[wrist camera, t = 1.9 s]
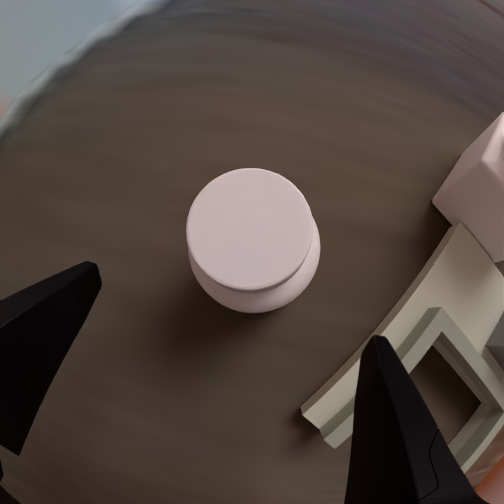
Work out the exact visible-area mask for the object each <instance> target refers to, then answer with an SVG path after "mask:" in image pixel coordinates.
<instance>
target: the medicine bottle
mask: <svg viewBox="0 0 504 504" xmlns="http://www.w3.org/2000/svg"><path fill="white" fill-rule="evenodd" d="M432 203H433V204H434V206H435V207H436V208H437V209H438V210H439V211H440V212H441V213H442V214H443V215H444V217H445V218H446V219H447V220H448V221H449V222H450V223H451V224H452V226H453V225H455V224H457V223H459V222H461V223H462V224H463V225H464V226H465V228H466V229H467V230H468V231H469V232H470V234H471V235H472V236H473V237H474V238H475V240H476V241H477V242H478V243H479V245H480V246H481V247H482V248H483V250H484V251H485V252H486V254H487V255H488V256H489V258H490V259H491V260H492V262H493V263H498V262H501V261H504V112H503V113H501V115H500V116H499V117H498V118H497V119H496V120H495V121H494V122H493V123H492V124H491V125H490V126H489V127H488V128H487V129H486V130H485V131H484V132H483V133H482V134H481V135H480V136H479V137H478V138H477V139H476V140H475V141H474V142H473V143H472V144H471V145H470V146H469V147H468V148H467V149H466V150H465V151H464V152H463V153H462V155H461V156H460V158H459V160H458V161H457V163H456V164H455V166H454V168H453V169H452V171H451V172H450V174H449V175H448V177H447V178H446V180H445V181H444V183H443V184H442V186H441V187H440V189H439V190H438V192H437V193H436V195H435V196H434V197H433V200H432Z"/></svg>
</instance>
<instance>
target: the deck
mask: <svg viewBox="0 0 504 504" xmlns="http://www.w3.org/2000/svg"><path fill="white" fill-rule="evenodd" d="M373 335H380V336H385V337H386V338H387V339H388V340H389V342H390V344H391V345H392V347H393V348H394V350H395V352H396V353H397V355H398V357H399V358H400V360H401V362H402V363H403V365H404V367H405V368H406V370H407V372H408V374H409V373H410V372H411V371H412V370H413V369H414V367H415V366H416V365H417V364H418V362H419V361H420V360H421V358H422V357H423V356H424V355H425V353H426V352H427V351H428V349H429V348H430V347H431V345H433V346H434V347H435V348H436V350H437V351H438V352H439V353H440V354H441V355H442V356H443V358H444V359H445V360H446V361H447V362H448V363H449V364H450V366H451V367H452V368H453V369H454V370H455V371H456V373H457V374H458V375H459V376H460V377H461V379H462V380H463V381H464V382H465V383H466V385H467V386H468V387H469V388H470V389H471V391H472V392H473V393H474V394H475V396H476V397H477V398H478V399H479V401H480V402H481V404H480V406H479V407H478V408H477V410H476V411H475V412H474V414H473V415H472V416H471V418H470V419H469V420H468V422H467V423H466V424H465V425H464V427H463V428H462V429H461V430H460V432H459V433H458V434H457V435H456V436H455V438H454V439H453V440H452V441H451V442H450V443H449V445H448V447H449V449H450V451H451V452H452V454H453V456H454V457H455V459H456V461H457V463H458V464H459V466H460V467H461V469H462V471H463V472H464V473H465V472H466V471H467V470H468V469H469V468H470V467H471V466H472V464H473V463H474V462H475V461H476V460H477V459H478V457H479V456H480V455H481V454H482V452H483V451H484V450H485V449H486V447H487V446H488V445H489V444H490V442H491V441H492V440H493V438H494V437H495V436H496V434H497V433H498V432H499V430H500V429H501V427H502V426H503V424H504V277H503V276H502V274H501V273H500V271H499V270H498V269H497V267H496V266H495V264H494V263H493V262H492V260H491V259H490V258H489V256H488V255H487V254H486V252H485V251H484V250H483V248H482V247H481V246H480V245H479V243H478V242H477V241H476V240H475V238H474V237H473V236H472V235H471V234H470V232H469V231H468V230H467V229H466V228H465V226H464V225H463V224H462V223H461V222H459V223H457V224H455V225H453V226H451V227H450V228H449V229H448V231H447V232H446V234H445V235H444V237H443V239H442V240H441V242H440V243H439V245H438V246H437V248H436V249H435V251H434V252H433V254H432V255H431V257H430V258H429V260H428V261H427V263H426V264H425V266H424V267H423V269H422V270H421V271H420V273H419V274H418V276H417V277H416V278H415V280H414V281H413V282H412V284H411V285H410V287H409V288H408V289H407V291H406V292H405V293H404V294H403V296H402V297H401V298H400V300H399V301H398V302H397V304H396V305H395V306H394V307H393V309H392V310H391V311H390V312H389V314H388V315H387V316H386V317H385V318H384V320H383V321H382V322H381V323H380V324H379V326H378V327H377V328H376V329H375V330H374V332H373V333H372V334H371V335H370V336H369V337H368V338H367V340H366V341H365V342H364V343H363V344H362V345H361V346H360V347H359V349H358V350H357V351H356V352H355V353H354V354H353V355H352V356H351V357H350V358H349V359H348V360H347V361H346V363H345V364H344V365H343V366H342V367H341V368H340V369H339V370H338V371H337V372H336V373H335V374H334V375H333V376H332V377H331V378H330V379H329V380H328V381H327V382H326V383H325V384H324V385H323V386H322V387H321V388H320V389H319V390H318V391H317V392H316V393H314V394H313V395H312V396H311V397H310V398H309V399H308V400H307V401H306V402H305V403H304V404H303V405H302V406H300V408H301V411H302V415H303V416H304V417H305V418H307V419H308V420H309V421H310V422H311V423H312V424H314V425H315V426H316V427H317V428H318V429H319V430H320V432H321V435H322V437H323V440H324V441H326V442H327V443H328V444H329V445H331V446H332V447H333V448H337V447H338V446H339V445H340V444H341V443H342V442H343V441H345V440H346V439H347V438H348V437H349V436H350V435H351V434H352V432H353V417H354V401H355V394H356V387H357V381H358V373H359V366H360V358H361V354H362V351H363V349H364V348H365V346H366V345H367V343H368V341H369V340H370V338H371V337H372V336H373Z"/></svg>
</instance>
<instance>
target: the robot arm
mask: <svg viewBox="0 0 504 504" xmlns="http://www.w3.org/2000/svg"><path fill="white" fill-rule="evenodd" d="M101 286H102V281H101V277H100V273H99V269H98V266H97V265H96V264H95V263H92V262H89V261H85V262H82V263H80V264H78V265H76V266H73V267H71V268H69V269H66V270H64V271H62V272H60V273H58V274H55V275H53V276H51V277H49V278H47V279H44V280H42V281H40V282H38V283H36V284H34V285H31V286H29V287H27V288H25V289H23V290H21V291H19V292H17V293H15V294H13V295H11V296H9V297H7V298H5V299H4V300H0V445H2V446H3V447H5V448H6V449H8V450H9V451H11V452H13V453H14V454H16V455H18V456H19V455H20V453H21V450H22V448H23V445H24V443H25V440H26V438H27V435H28V433H29V430H30V428H31V426H32V423H33V421H34V419H35V416H36V414H37V412H38V409H39V407H40V405H41V403H42V401H43V399H44V397H45V395H46V392H47V390H48V388H49V386H50V384H51V382H52V380H53V378H54V376H55V375H56V373H57V371H58V369H59V367H60V365H61V363H62V361H63V359H64V357H65V356H66V354H67V352H68V350H69V348H70V347H71V345H72V343H73V341H74V340H75V338H76V336H77V334H78V333H79V331H80V329H81V327H82V326H83V324H84V322H85V320H86V318H87V316H88V314H89V312H90V309H91V307H92V305H93V303H94V301H95V299H96V297H97V295H98V293H99V291H100V289H101ZM437 428H438V426H437V424H436V422H435V420H434V418H433V417H432V415H431V413H430V411H429V409H428V407H427V405H426V404H425V402H424V400H423V398H422V396H421V395H420V393H419V391H418V389H417V388H416V386H415V384H414V382H413V381H412V379H411V377H410V375H409V374H408V372H407V370H406V368H405V367H404V365H403V363H402V362H401V360H400V358H399V357H398V355H397V353H396V352H395V350H394V348H393V347H392V345H391V344H390V342H389V340H388V339H387V338H386V337H385V336H380V335H373V336H372V337H371V338H370V340H369V341H368V343H367V345H366V346H365V348H364V349H363V351H362V354H361V358H360V366H359V373H358V381H357V387H356V394H355V401H354V417H353V432H352V444H351V455H350V464H349V473H348V481H347V488H346V495H345V501H344V504H489V503H487V502H486V501H484V500H483V499H481V498H480V497H479V496H478V495H477V493H476V492H475V490H474V489H473V487H472V486H471V484H470V482H469V481H468V479H467V477H466V476H465V474H464V472H463V471H462V469H461V467H460V466H459V464H458V463H457V461H456V459H455V457H454V456H453V454H452V452H451V451H450V449H449V447H448V445H447V443H446V441H445V439H444V437H443V436H442V434H441V432H440V430H439V429H437ZM2 477H3V470H2V466H1V461H0V481H1V479H2ZM0 504H20V503H19V502H18V501H17V500H16V499H14V498H13V497H12V496H11V495H10V494H9V493H8V492H7V491H6V490H5V489H4V488H3V487H1V486H0Z"/></svg>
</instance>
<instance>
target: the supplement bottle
mask: <svg viewBox="0 0 504 504" xmlns="http://www.w3.org/2000/svg"><path fill="white" fill-rule="evenodd" d="M186 237H187V243H188V250H189V259H190V264H191V267H192V270H193V273H194V275H195V277H196V279H197V281H198V282H199V283H200V285H201V286H202V288H203V289H204V290H205V291H206V292H207V293H208V294H209V295H210V296H211V297H212V298H213V299H215V300H216V301H217V302H219V303H220V304H222V305H224V306H226V307H228V308H230V309H233V310H236V311H240V312H245V313H264V312H269V311H273V310H276V309H278V308H281V307H283V306H285V305H286V304H288V303H290V302H291V301H293V300H294V299H295V298H296V297H298V296H299V295H300V294H301V293H302V292H303V291H304V289H305V288H306V287H307V286H308V284H309V283H310V281H311V280H312V278H313V276H314V274H315V271H316V269H317V265H318V262H319V256H320V239H319V233H318V229H317V226H316V223H315V221H314V219H313V217H312V215H311V211H310V208H309V206H308V204H307V202H306V200H305V198H304V196H303V195H302V193H301V192H300V191H299V190H298V189H297V188H296V186H295V185H294V184H292V183H291V182H290V181H289V180H287V179H286V178H284V177H283V176H281V175H279V174H276V173H274V172H271V171H267V170H263V169H257V168H246V169H238V170H234V171H230V172H228V173H225V174H223V175H221V176H219V177H217V178H216V179H214V180H213V181H211V182H210V183H209V184H208V185H206V186H205V187H204V188H203V189H202V191H201V192H200V193H199V194H198V196H197V197H196V199H195V201H194V202H193V204H192V206H191V209H190V211H189V214H188V218H187V226H186Z"/></svg>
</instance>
